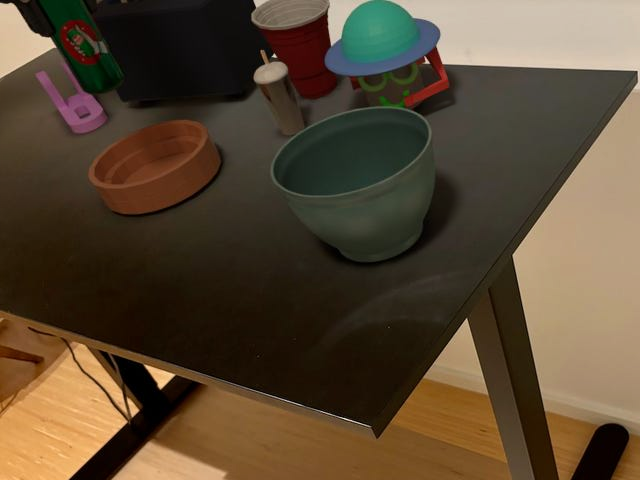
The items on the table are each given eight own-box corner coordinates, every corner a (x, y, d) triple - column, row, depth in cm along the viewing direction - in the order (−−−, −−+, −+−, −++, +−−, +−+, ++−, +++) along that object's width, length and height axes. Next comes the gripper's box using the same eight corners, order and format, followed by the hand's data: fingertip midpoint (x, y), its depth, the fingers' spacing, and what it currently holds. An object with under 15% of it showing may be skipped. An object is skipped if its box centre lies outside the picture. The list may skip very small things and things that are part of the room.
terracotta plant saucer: (156, 228, 88) (137, 198, 85) (85, 204, 96) (64, 175, 93) (246, 159, 96) (231, 128, 93) (173, 142, 104) (157, 113, 100)
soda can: (95, 79, 87) (33, -26, 79) (133, 73, 86) (75, -34, 78) (78, 100, 84) (11, -8, 75) (117, 93, 83) (54, -16, 74)
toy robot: (346, 151, 92) (307, 43, 82) (346, 98, 103) (312, -5, 93) (461, 124, 92) (435, 11, 82) (449, 73, 102) (425, -33, 92)
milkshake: (306, 114, 102) (278, 44, 94) (312, 131, 98) (283, 59, 91) (275, 125, 101) (245, 55, 94) (279, 142, 97) (249, 71, 90)
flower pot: (374, 180, 86) (345, 95, 79) (483, 209, 78) (463, 117, 70) (280, 262, 79) (237, 177, 71) (390, 303, 70) (355, 212, 63)
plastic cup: (333, 108, 101) (303, 22, 93) (270, 108, 105) (235, 25, 97) (367, 70, 108) (341, -14, 99) (306, 71, 112) (276, -10, 103)
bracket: (59, 111, 119) (33, 71, 114) (91, 97, 121) (67, 56, 116) (77, 137, 111) (49, 94, 106) (111, 121, 113) (85, 78, 108)
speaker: (279, 62, 116) (240, -38, 105) (245, 103, 108) (198, 0, 97) (167, 72, 122) (119, -21, 111) (126, 112, 114) (70, 15, 103)
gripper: (8, -180, 73) (102, -6, 85) (-128, -132, 66) (-4, 51, 78) (48, -185, 69) (140, -2, 82) (-92, -135, 62) (32, 57, 74)
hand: (69, 23), depth 80 cm, fingers closed on soda can, 5 cm apart
